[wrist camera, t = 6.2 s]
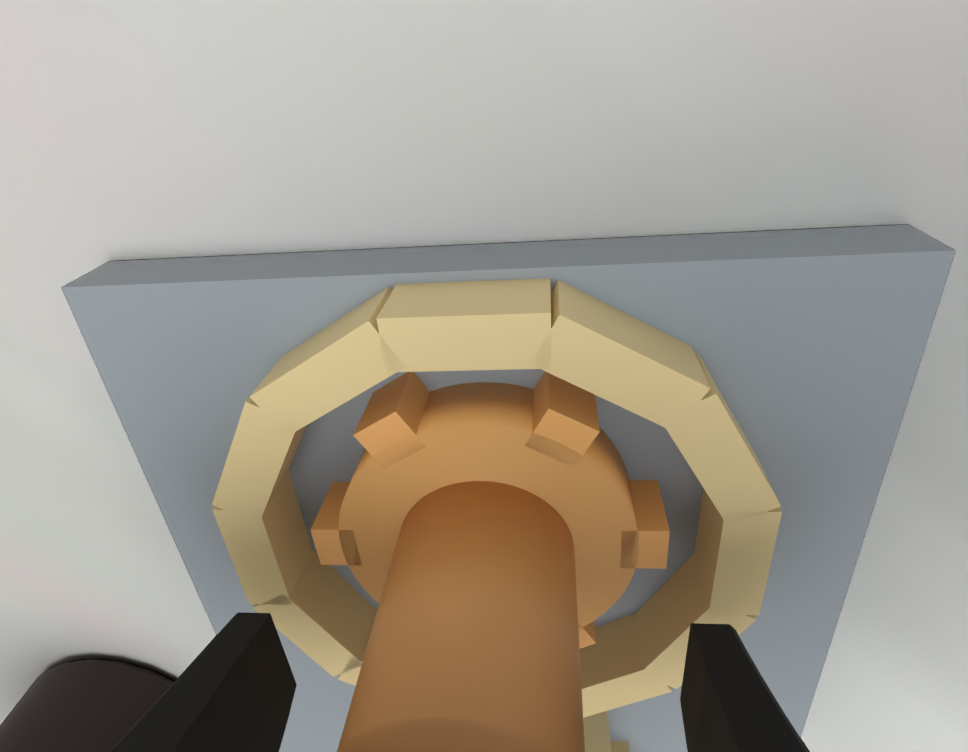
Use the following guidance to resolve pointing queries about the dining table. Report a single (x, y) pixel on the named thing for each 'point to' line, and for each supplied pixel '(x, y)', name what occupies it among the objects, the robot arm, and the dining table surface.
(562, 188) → the dining table surface
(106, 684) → the bottle
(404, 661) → the planet gear
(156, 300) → the carrier plate
